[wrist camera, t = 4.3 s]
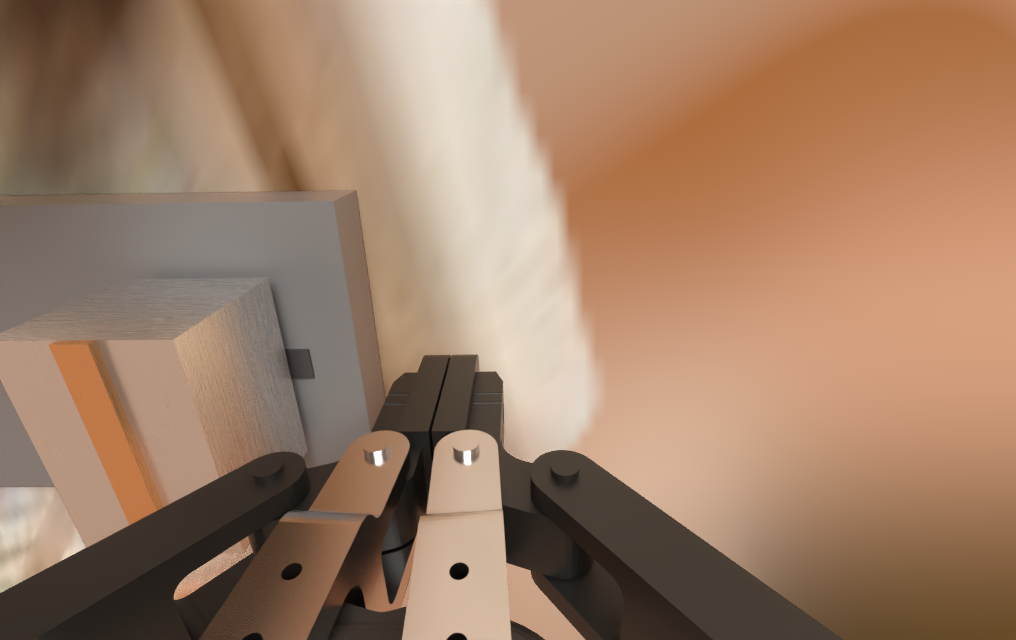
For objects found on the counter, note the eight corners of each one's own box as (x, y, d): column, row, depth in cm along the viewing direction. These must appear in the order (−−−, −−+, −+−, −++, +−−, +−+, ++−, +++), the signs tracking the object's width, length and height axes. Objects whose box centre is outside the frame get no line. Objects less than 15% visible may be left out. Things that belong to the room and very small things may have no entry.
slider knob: (135, 275, 14) (-30, 345, 9) (273, 274, 14) (166, 344, 9) (194, 444, 16) (82, 559, 12) (311, 444, 16) (239, 559, 12)
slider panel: (-265, 199, 15) (-379, 211, 13) (356, 190, 15) (332, 201, 13) (-100, 451, 19) (-169, 489, 17) (392, 449, 19) (378, 488, 17)
